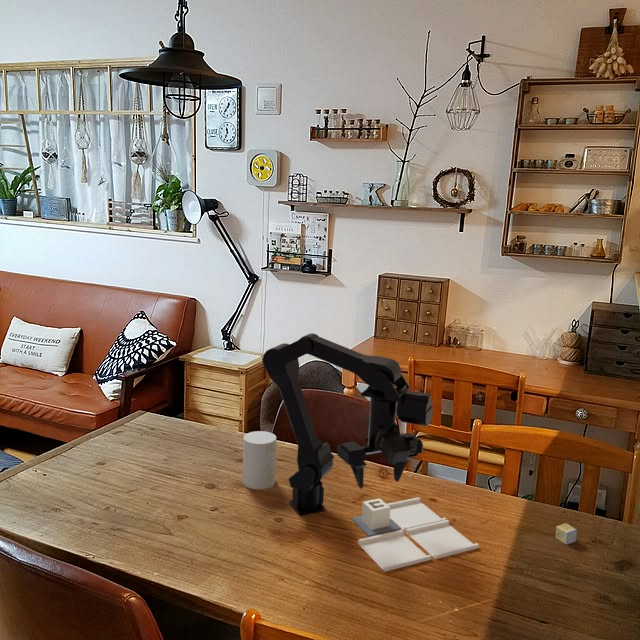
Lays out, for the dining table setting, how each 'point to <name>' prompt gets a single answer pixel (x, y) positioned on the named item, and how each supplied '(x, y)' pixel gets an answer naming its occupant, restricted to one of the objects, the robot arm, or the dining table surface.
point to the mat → (370, 532)
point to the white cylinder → (259, 460)
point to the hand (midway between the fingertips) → (378, 484)
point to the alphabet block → (566, 533)
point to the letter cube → (375, 513)
